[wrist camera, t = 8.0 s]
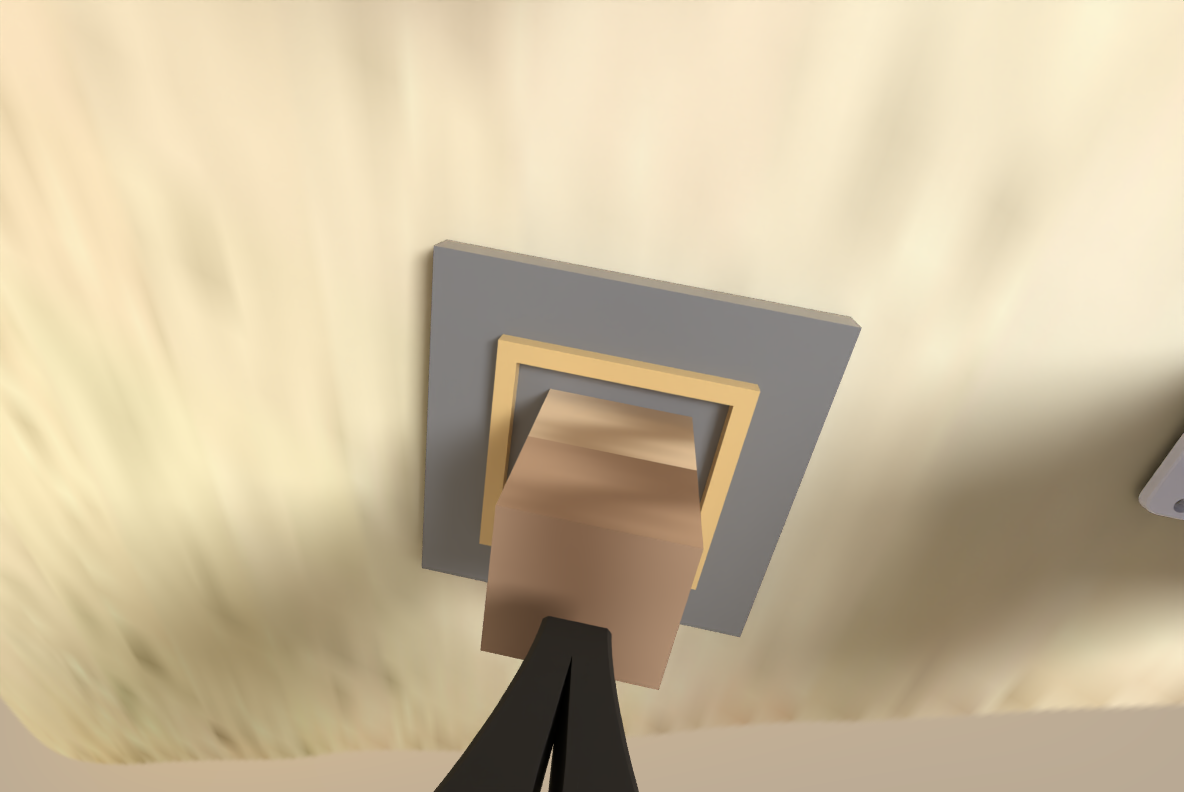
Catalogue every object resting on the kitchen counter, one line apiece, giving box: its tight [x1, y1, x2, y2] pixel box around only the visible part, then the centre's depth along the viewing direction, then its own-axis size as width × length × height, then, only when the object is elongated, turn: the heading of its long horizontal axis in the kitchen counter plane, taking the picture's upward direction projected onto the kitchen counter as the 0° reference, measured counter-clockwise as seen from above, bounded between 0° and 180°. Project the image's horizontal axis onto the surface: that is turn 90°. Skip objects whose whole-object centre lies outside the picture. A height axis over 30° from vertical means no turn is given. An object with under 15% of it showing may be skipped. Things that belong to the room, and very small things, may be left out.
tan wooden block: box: [481, 389, 704, 690], centre depth 15 cm, size 4×4×6 cm
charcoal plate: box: [422, 240, 861, 637], centre depth 18 cm, size 12×12×2 cm
